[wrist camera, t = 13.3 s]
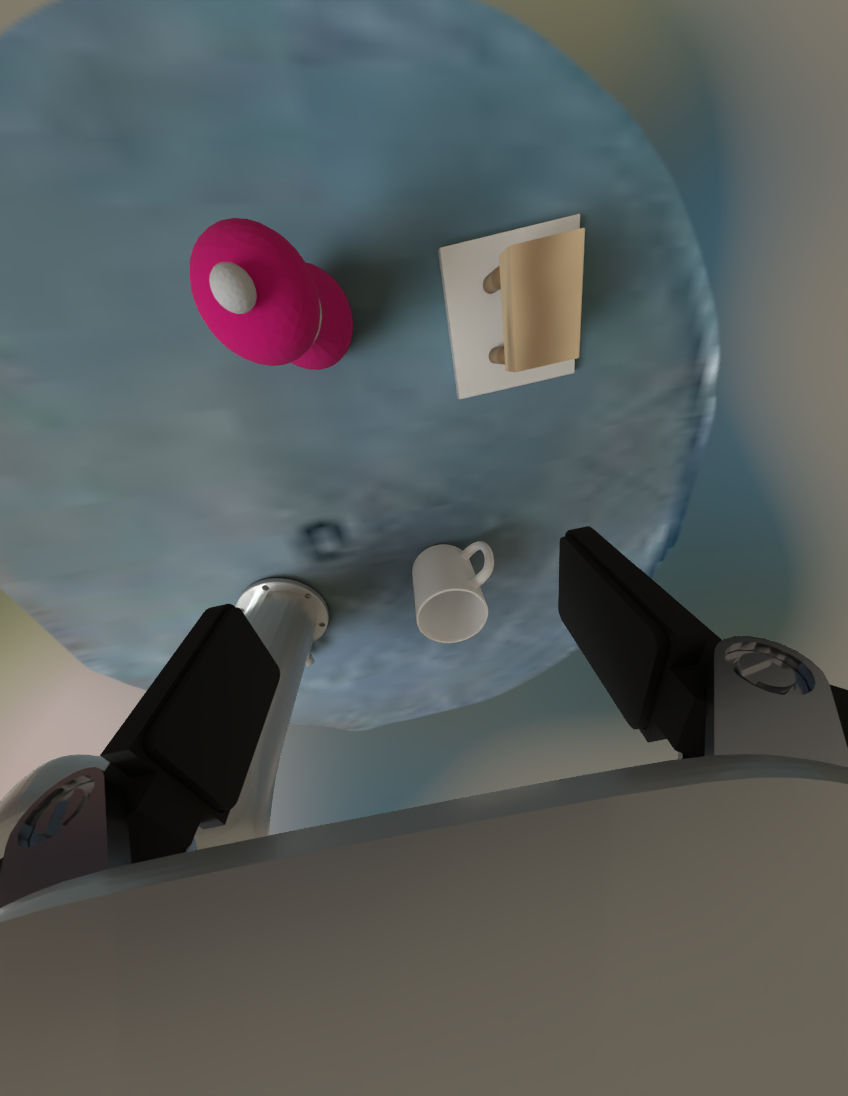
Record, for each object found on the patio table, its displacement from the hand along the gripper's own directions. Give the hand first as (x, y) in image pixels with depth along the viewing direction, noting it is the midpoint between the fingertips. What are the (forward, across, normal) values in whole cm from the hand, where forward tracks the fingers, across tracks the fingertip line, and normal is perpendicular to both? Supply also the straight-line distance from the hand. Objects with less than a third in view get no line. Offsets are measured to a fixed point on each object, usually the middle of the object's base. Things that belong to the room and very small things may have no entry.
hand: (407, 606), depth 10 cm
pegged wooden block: (+29, -13, -7) cm, 33 cm away
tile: (+30, -13, -7) cm, 34 cm away
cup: (+31, -3, +19) cm, 36 cm away
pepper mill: (+31, +5, -10) cm, 32 cm away
